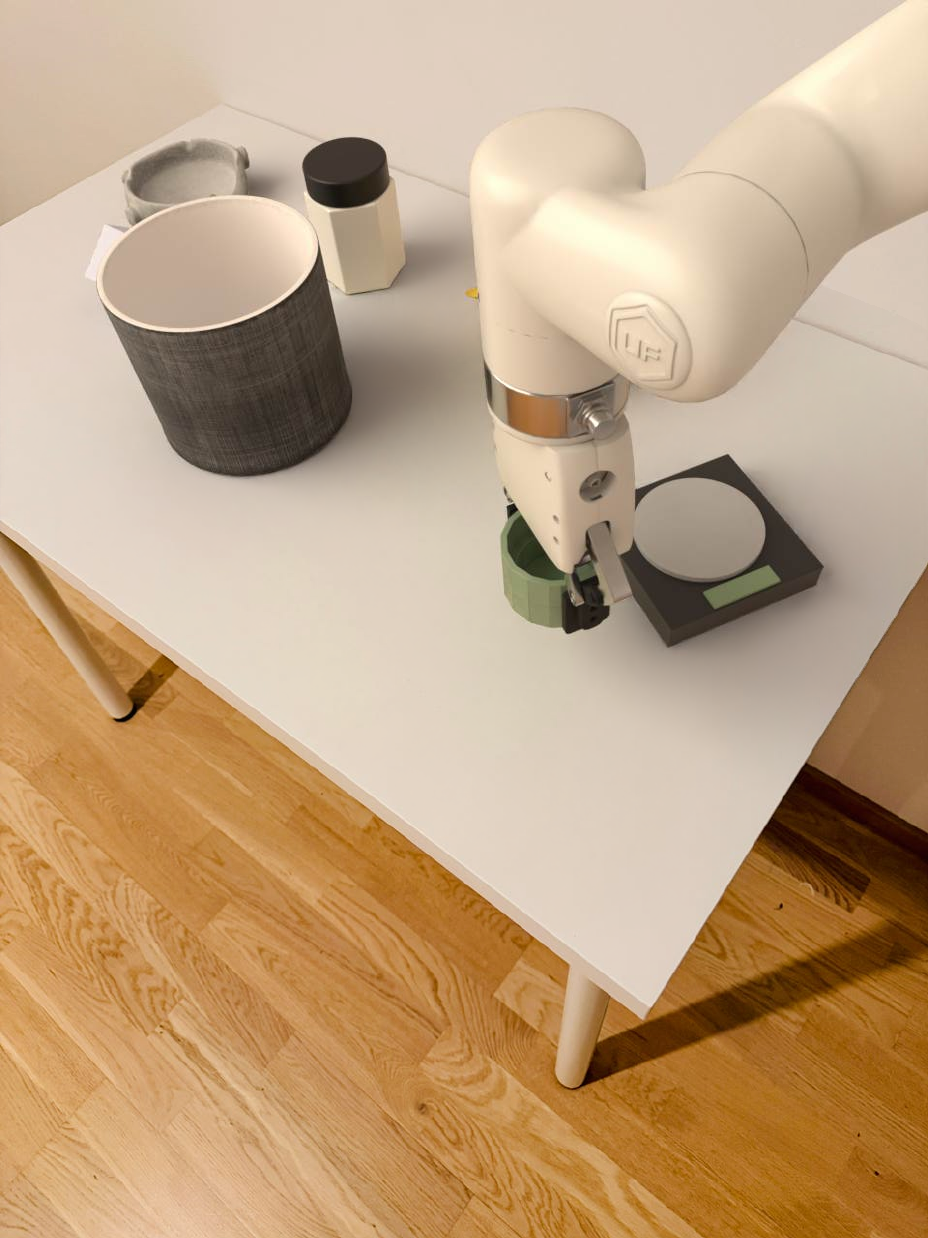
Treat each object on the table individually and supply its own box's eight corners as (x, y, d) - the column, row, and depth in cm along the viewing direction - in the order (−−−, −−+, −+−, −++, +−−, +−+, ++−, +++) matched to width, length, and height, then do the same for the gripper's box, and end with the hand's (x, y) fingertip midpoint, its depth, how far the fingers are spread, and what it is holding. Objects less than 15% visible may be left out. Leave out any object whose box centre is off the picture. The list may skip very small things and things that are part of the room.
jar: (401, 240, 98) (385, 129, 88) (410, 286, 93) (395, 174, 83) (319, 253, 98) (294, 143, 88) (325, 299, 93) (299, 189, 83)
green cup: (630, 606, 61) (635, 559, 57) (532, 647, 60) (530, 602, 55) (580, 532, 65) (581, 482, 61) (487, 569, 64) (482, 521, 59)
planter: (386, 424, 82) (357, 273, 69) (205, 507, 78) (138, 364, 65) (304, 321, 91) (265, 170, 78) (139, 391, 87) (68, 244, 74)
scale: (816, 585, 69) (826, 561, 67) (667, 647, 67) (672, 625, 65) (723, 473, 76) (729, 448, 74) (585, 526, 74) (587, 502, 72)
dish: (258, 172, 108) (247, 130, 103) (249, 242, 100) (236, 199, 96) (138, 184, 108) (122, 143, 104) (120, 254, 100) (102, 212, 96)
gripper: (711, 456, 43) (672, 655, 57) (547, 265, 52) (549, 477, 67) (569, 512, 42) (566, 701, 56) (428, 306, 51) (457, 512, 66)
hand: (557, 578), depth 61 cm, fingers closed on green cup, 7 cm apart
